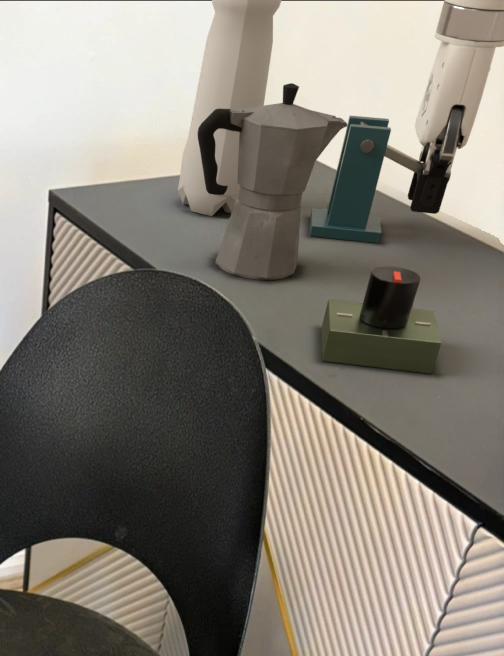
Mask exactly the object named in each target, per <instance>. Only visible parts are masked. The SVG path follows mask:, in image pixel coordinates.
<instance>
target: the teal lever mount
mask: <svg viewBox="0 0 504 656" xmlns="http://www.w3.org/2000/svg"><path fill="white" fill-rule="evenodd" d="M360 122H363V123H365V124H367V125H369V126H367V125H359V124H360ZM389 123H390V119H389V118H383V117H371V116H361V115H349V116H348V120H347V127H345V128H346V129H345V133H344V137H343V142H342V146H341V150H340V154H339V157H338V158H339V159H338V163H337V169H336V171H335V176H334V181H333V184H332V188H331V194H330V197H329V201H328V206H327V209H326V208H315V207H314V208H313V207H312V208H311V210H310V215H309V236H310V237H315V238H316V237H317V238H325V239H333V240H334V239H336V240H345V241H355V242H362V243H363V242H364V243H374V244H380V242H381V237H382V233H383V232H382V227H381V221H380V220H381V219H380V215H379V214H377V213H376V214H374V213H371V210H372V205H373V202H374V197H375V194H376V190H377V186H378V183H379V179H380V174H381V170H382V167H383V163H384V159H385V152H386V148H387V145H389V139H390V136H391V132H392V128H391V127H389Z"/></svg>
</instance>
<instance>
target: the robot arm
mask: <svg viewBox="0 0 504 656" xmlns="http://www.w3.org/2000/svg"><path fill="white" fill-rule="evenodd" d="M434 32H435V33H434V38H435V39H436V40H439V41H440V43H439V46H438V49H437V52H436V55H435V58H434V61H433V63H432V67H431V71H430V74H429V77H428V79H427V84H426V87H425V90H424V93H423V97H422V99H421V103H420V105H419V109H418V112H417V115H416V119H415V124H414V128H415V133H416V136H417V139H418V141H419V143H420V145H421V146H422V147H421V150H420V153H419V156H418V161H419V162H421V163H423V164H424V163H425V162H426V163H425V166H424V170H423V173H420V174H419V178H418V181H417V173H415V172H413V175H412V177H411V182H410V186H409V188H408V189H409V190H408V193H407V199H408V200H409V201H411V203H410V211H411V212H413V213H422V214H433V215H436V214H438V213H439V212H440V210H441V206H442V203H443V200H444V196H445V193H446V190H447V186H448V184H449V182H448V180H449V174H450V171H451V172H452V167H453V164H454V160H455V156H456V153H457V150H461V149H463V148H464V147H465V146H466V145H467V143H468V141H469V138H470V137H471V133H472V130H473V127H474V124H475V121H476V117H477V114H478V111H479V109H480V105H481V101H482V98H483V95H484V91H485V88H486V85H487V81H488V77H489V73H490V72H491V66H492V63H493V60H494V55H495V52H496V48H502V47H504V0H443V3H442V7H441V11H440V15H439V18H438V22H437V26H436V30H435V31H434ZM432 160H433V161H432ZM449 181H450V180H449Z"/></svg>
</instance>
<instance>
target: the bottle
mask: <svg viewBox="0 0 504 656" xmlns="http://www.w3.org/2000/svg"><path fill="white" fill-rule="evenodd" d="M211 4H212V8H213V10H214V15H213V18H212V21H211V24H210V27H209V30H208V34H207V35H206V39H205V40H206V42H205V46H204V51H203V56H202V61H201V67H200V73H199V77H198V83H197V89H196V93H195V98H194V104H193V109H192V114H191V120H190V125H189V130H188V136H187V140H186V142H185V145H184V149H183V151H182V157H181V165H180V172H179V180H178V181H179V182H178V187H177V193H178V196H179V198H180V201H181V203H182V205H189V208H190V211H191V212H194V213H197V214H200V215H205V216H209V217H213V216H214V215H215V214H216V213H217V212H218V211H219V210H220V209H221V208H222V209H223V210H224V212H225V213H227V214H228V213H229V214H230V215H231V214H232V211H233V208H234V205H235V202H236V200H237V199H238V194H239V189H240V185H239V184H238V183H237V180H238V158H239V135H240V132H236V131H230V130H226V129H217V130H216V131H215V132H214V139H215V145H216V148H215V160H216V163H217V166H218V172H217V178H216V181H217V184H219V185H223V186H228V188H227V191H226V192H225V194H224V195H213V194H209V193H208V192H207V190H206V186H205V179H204V172H203V166H202V160H201V153H200V147H199V142H198V134H197V133H198V128H199V126H200V125H201V123H202V122H203V121H204V120H205V119H206V118H207V117H208V116H209V115H210V114H211V113H212V112H213V111H214V110H215V109H244V110H245V108H250V107H257V106H264V105H265V99H266V92H267V85H268V79H269V73H270V72H269V71H270V65H271V59H272V58H271V57H272V51H273V43H274V16H275V14H276V12H278V10H279V8H280V7H281V4H282V0H211Z"/></svg>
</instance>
